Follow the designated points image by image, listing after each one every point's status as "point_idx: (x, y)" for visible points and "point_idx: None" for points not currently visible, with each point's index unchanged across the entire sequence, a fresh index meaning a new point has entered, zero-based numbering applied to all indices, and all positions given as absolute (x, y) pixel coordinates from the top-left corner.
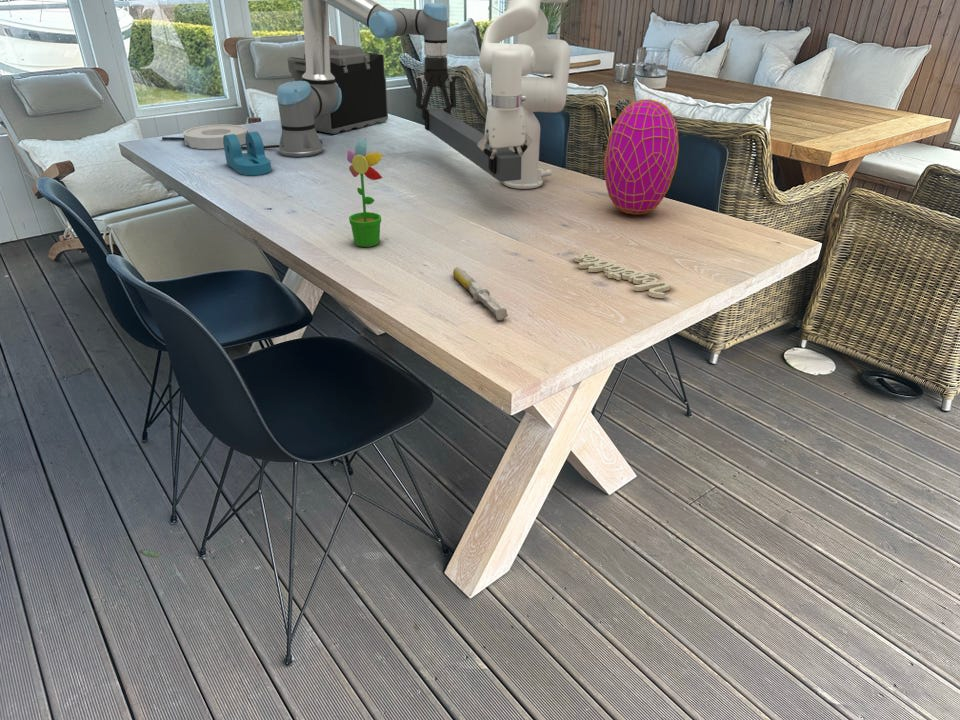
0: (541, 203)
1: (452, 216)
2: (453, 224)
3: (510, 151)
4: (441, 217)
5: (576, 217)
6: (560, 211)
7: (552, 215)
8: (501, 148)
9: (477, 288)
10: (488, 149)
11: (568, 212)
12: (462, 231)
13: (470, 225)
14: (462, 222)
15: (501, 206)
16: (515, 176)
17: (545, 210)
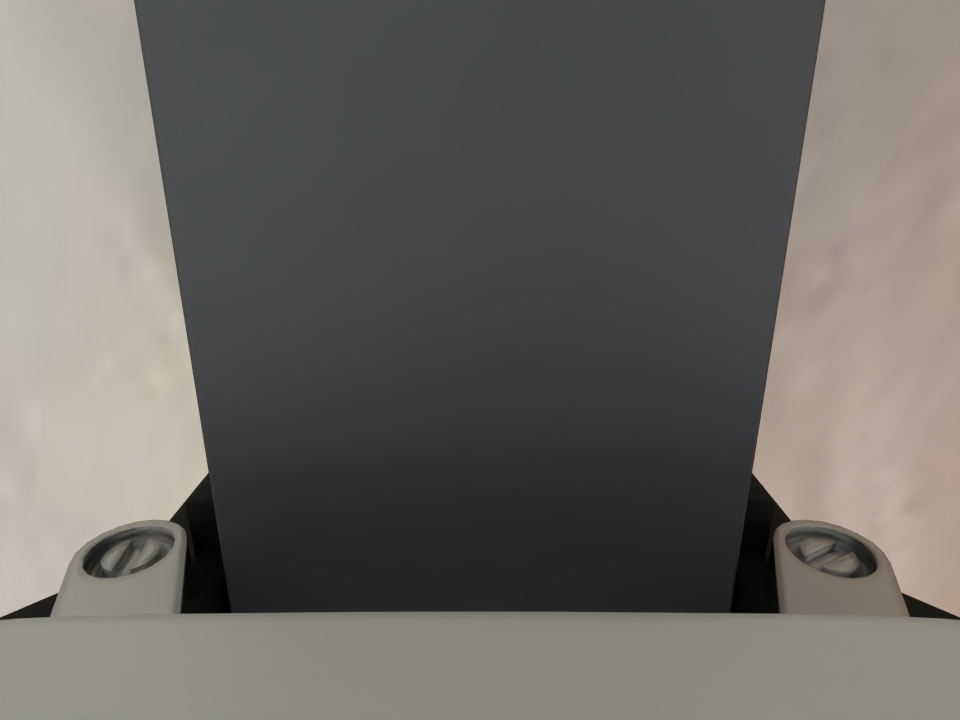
0: (876, 145)
1: (95, 228)
2: (82, 389)
3: (686, 526)
4: (7, 224)
5: (898, 497)
6: (884, 365)
7: (784, 421)
8: (620, 152)
9: None
10: (209, 124)
11: (919, 399)
12: (123, 517)
13: (193, 438)
14: (149, 371)
15: None
16: None
17: (803, 314)
